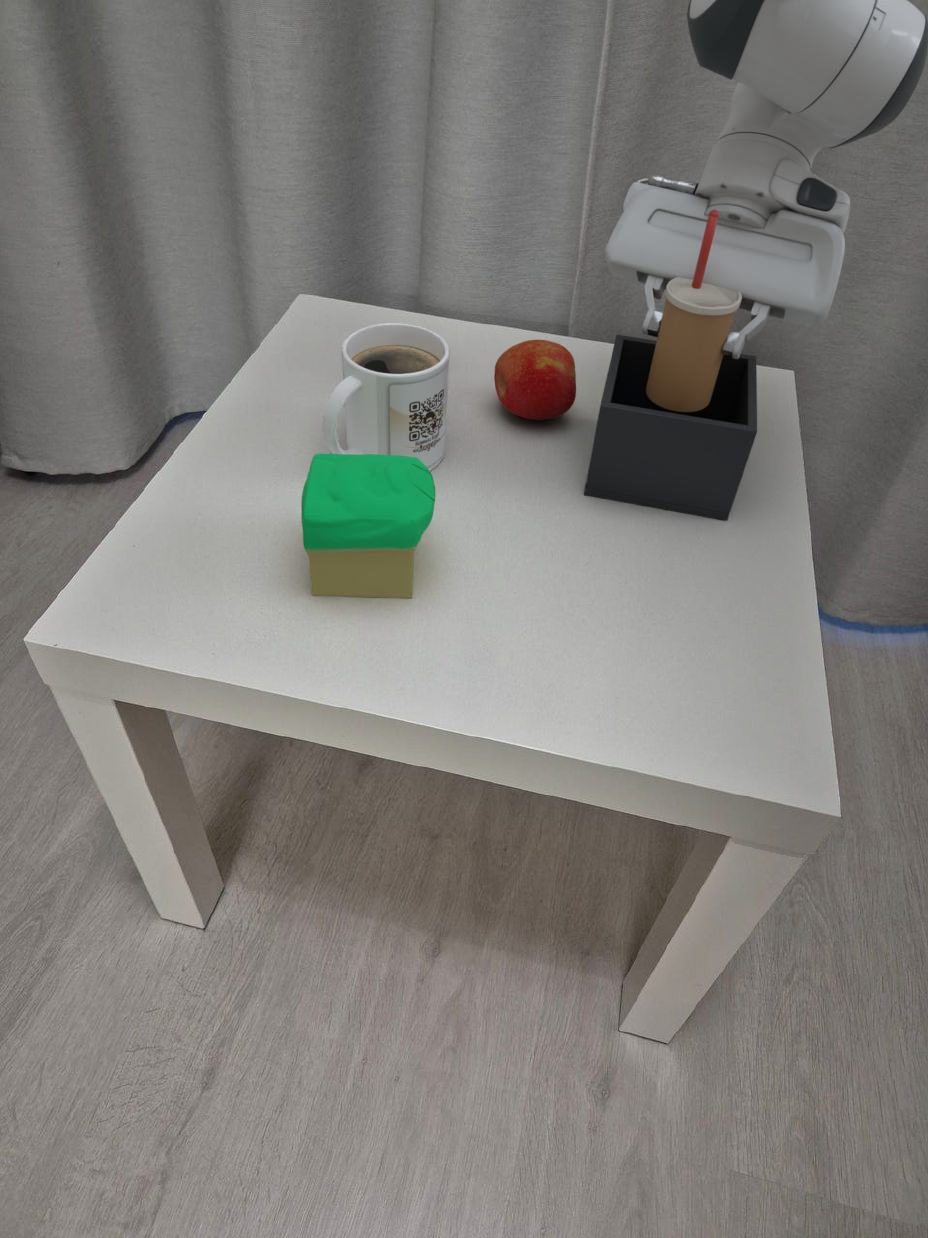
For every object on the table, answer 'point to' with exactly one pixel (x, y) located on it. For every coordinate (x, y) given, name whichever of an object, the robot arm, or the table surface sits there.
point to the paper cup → (691, 336)
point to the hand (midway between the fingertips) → (689, 344)
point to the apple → (536, 379)
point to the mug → (392, 393)
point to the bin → (672, 437)
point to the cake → (365, 523)
